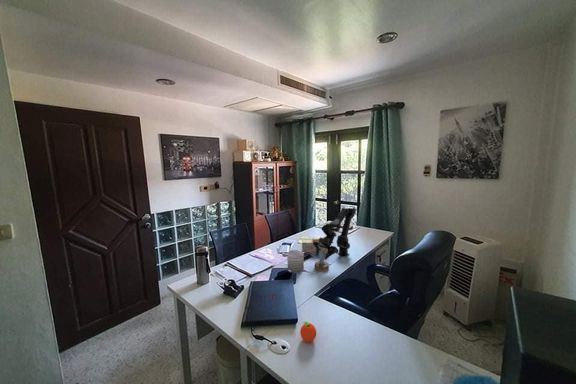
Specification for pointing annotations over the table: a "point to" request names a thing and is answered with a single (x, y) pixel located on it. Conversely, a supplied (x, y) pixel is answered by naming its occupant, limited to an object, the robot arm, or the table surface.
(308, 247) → the stack of blocks
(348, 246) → the robot arm
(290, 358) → the table surface
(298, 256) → the can
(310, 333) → the clementine
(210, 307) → the table surface
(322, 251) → the peg
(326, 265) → the brown ring
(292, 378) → the table surface
